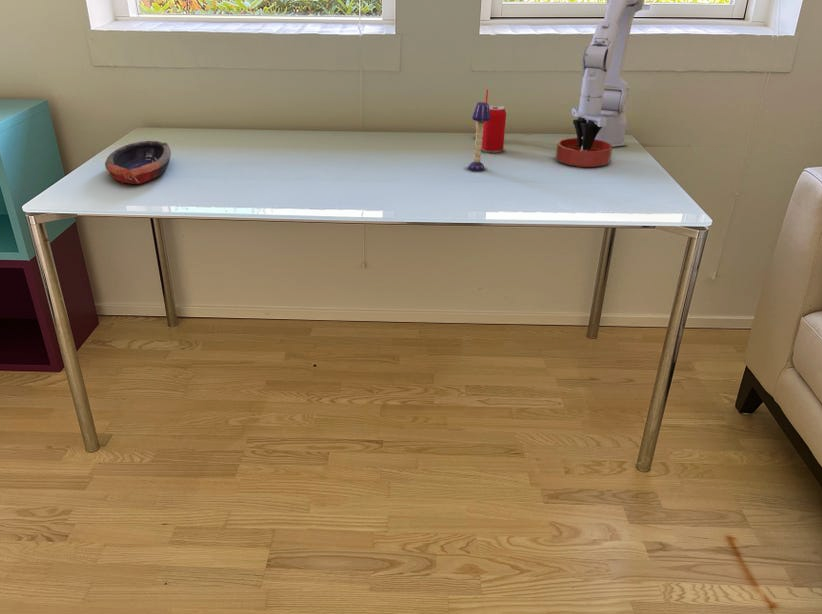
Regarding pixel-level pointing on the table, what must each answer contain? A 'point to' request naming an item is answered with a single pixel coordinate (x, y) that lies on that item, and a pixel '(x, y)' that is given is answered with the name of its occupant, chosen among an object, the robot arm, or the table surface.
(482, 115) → the toy lamp
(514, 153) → the table surface
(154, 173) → the dish
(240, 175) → the table surface
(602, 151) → the bowl
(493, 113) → the beverage can
